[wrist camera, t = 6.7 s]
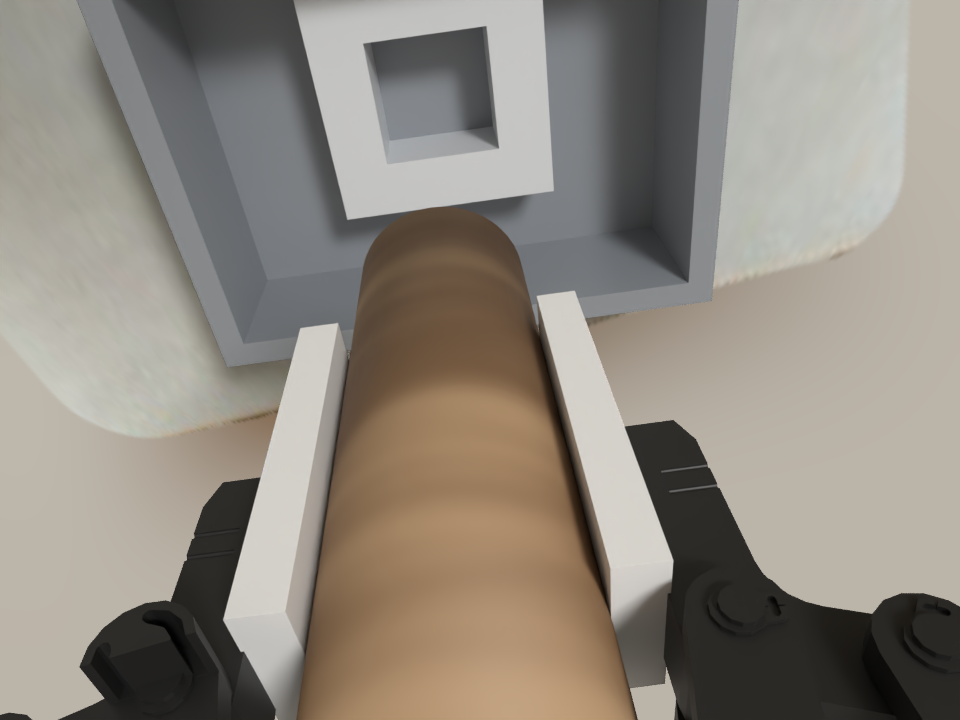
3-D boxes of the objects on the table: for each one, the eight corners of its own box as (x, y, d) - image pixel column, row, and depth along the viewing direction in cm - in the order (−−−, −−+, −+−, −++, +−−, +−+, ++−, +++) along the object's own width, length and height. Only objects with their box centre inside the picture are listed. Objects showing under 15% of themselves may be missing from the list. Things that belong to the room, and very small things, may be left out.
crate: (125, -69, 30) (54, -53, 24) (687, -150, 29) (752, -154, 24) (254, 296, 40) (227, 367, 34) (669, 238, 40) (711, 301, 34)
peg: (345, 219, 16) (165, 1046, 5) (515, 195, 16) (741, 972, 5) (379, 357, 19) (312, 1139, 7) (528, 337, 18) (701, 1091, 7)
